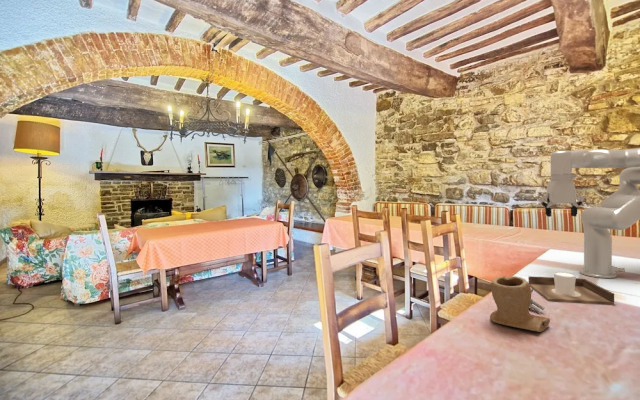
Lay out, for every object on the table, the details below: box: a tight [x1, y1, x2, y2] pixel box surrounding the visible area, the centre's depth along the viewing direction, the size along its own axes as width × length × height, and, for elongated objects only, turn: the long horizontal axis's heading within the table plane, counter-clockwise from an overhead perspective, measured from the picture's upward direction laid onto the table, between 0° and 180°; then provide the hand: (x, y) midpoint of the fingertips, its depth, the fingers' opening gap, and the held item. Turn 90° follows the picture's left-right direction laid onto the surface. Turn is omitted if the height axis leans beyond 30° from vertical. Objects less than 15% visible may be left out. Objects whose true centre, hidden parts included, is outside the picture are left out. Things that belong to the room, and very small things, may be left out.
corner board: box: [528, 276, 615, 306], centre depth 118 cm, size 20×18×4 cm
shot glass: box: [553, 271, 577, 295], centre depth 117 cm, size 7×7×7 cm
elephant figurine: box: [529, 288, 545, 315], centre depth 105 cm, size 10×6×9 cm
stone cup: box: [489, 275, 551, 333], centre depth 93 cm, size 15×12×15 cm
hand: (561, 216), depth 137 cm, fingers open, 9 cm apart
